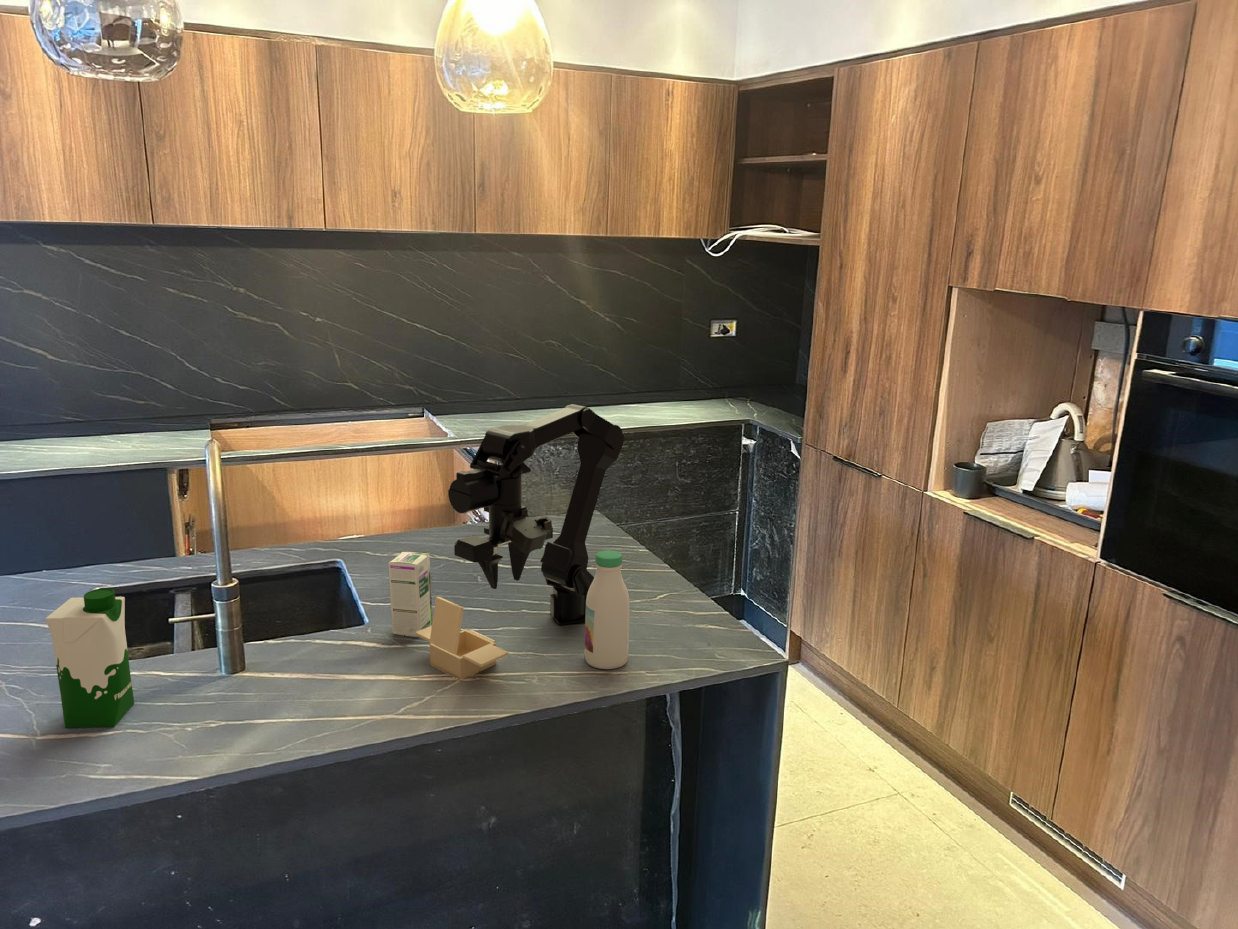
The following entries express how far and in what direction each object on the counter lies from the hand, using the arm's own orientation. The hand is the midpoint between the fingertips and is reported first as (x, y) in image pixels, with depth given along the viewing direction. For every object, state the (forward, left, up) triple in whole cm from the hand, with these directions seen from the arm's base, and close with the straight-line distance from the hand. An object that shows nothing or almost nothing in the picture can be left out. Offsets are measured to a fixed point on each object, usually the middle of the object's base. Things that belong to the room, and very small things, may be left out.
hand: (505, 584), depth 161 cm
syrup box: (+15, -12, -12) cm, 23 cm away
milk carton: (+64, +5, -12) cm, 66 cm away
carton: (+9, +5, -12) cm, 16 cm away
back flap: (+12, +7, -8) cm, 16 cm away
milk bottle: (-16, +10, -12) cm, 22 cm away
